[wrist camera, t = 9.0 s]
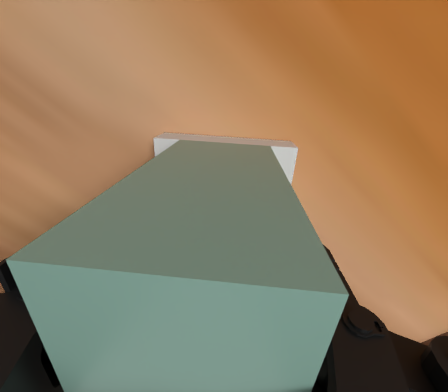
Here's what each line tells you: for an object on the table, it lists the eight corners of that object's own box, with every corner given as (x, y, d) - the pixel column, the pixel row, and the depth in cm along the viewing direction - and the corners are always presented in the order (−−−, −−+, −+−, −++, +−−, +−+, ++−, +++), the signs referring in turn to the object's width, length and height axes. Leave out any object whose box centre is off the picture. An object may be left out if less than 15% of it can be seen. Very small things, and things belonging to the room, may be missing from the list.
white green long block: (177, 370, 25) (127, 582, 14) (165, 132, 14) (-88, 250, 3) (249, 379, 25) (253, 604, 14) (291, 141, 14) (463, 306, 3)
